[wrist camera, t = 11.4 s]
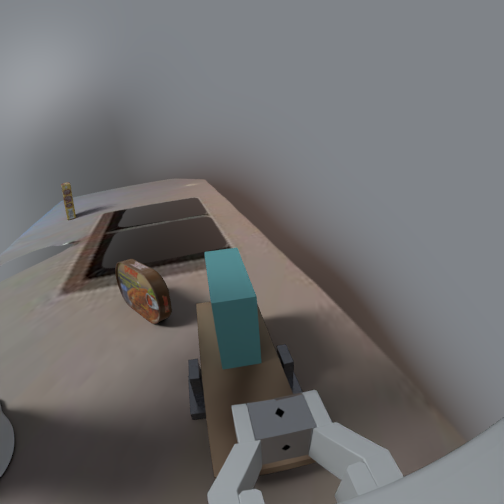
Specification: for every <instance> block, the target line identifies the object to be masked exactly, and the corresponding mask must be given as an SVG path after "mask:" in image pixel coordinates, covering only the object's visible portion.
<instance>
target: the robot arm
mask: <svg viewBox="0 0 504 504" xmlns="http://www.w3.org/2000/svg"><path fill="white" fill-rule="evenodd" d="M232 413H233V420H234V426H235V432H236V437H237V442H238V444H234V446H233V448H232V450H231V452H230V454H229V456H228V458H227V459H226V461H225V463H224V465H223V467H222V469H221V470H220V472H219V474H218V476H217V478H216V479H215V481H214V483H213V485H212V487H211V488H210V490H209V492H208V494H207V496H208V503H209V504H264V500H263V496H262V493H261V491H259V490H257V489H253V488H254V486H255V483H256V481H257V478H258V476H259V473H260V471H261V468H262V465H264V464H268V463H273V462H277V461H282V460H286V459H291V458H296V457H300V456H305V455H309V456H310V457H311V458H312V459H313V460H315V461H316V462H317V463H319V464H320V465H321V466H323V467H324V468H325V469H327V470H328V471H329V472H331V473H332V474H333V475H335V476H336V477H338V478H339V479H340V480H342V481H341V483H340V485H339V487H338V489H337V491H336V493H335V498H336V500H337V503H336V504H504V417H503V418H502V419H500V420H499V421H498V422H496V423H495V424H493V425H492V426H491V427H489V428H488V429H487V430H485V431H484V432H482V433H481V434H479V435H478V436H476V437H475V438H473V439H472V440H470V441H468V442H467V443H465V444H464V445H462V446H460V447H459V448H457V449H456V450H454V451H452V452H450V453H449V454H447V455H445V456H444V457H442V458H440V459H438V460H436V461H435V462H433V463H431V464H429V465H427V466H425V467H423V468H421V469H419V470H417V471H415V472H413V473H411V474H409V475H407V476H405V477H403V475H402V473H401V471H400V470H399V468H398V466H397V464H396V463H395V461H394V459H393V457H392V456H391V454H390V452H389V451H388V450H387V449H385V448H383V447H381V446H379V445H377V444H376V443H374V442H372V441H370V440H368V439H366V438H364V437H363V436H361V435H359V434H357V433H355V432H353V431H352V430H350V429H348V428H346V427H345V426H343V425H341V424H339V423H338V422H335V423H333V422H332V420H331V418H330V416H329V414H328V412H327V410H326V408H325V406H324V404H323V402H322V400H321V398H320V396H319V394H318V392H317V391H316V390H311V391H307V392H303V393H297V394H293V395H288V396H284V397H279V398H274V399H272V400H265V401H259V402H252V403H245V404H238V405H232ZM13 449H14V431H13V427H12V425H11V423H10V421H9V419H8V418H7V417H6V416H5V415H4V413H3V412H2V409H1V403H0V477H1V476H2V474H3V473H4V471H5V470H6V468H7V466H8V464H9V462H10V460H11V457H12V454H13Z"/></svg>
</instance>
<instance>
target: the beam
mask: <svg viewBox="0 0 504 504" xmlns="http://www.w3.org/2000/svg"><path fill="white" fill-rule="evenodd" d="M196 307H197V322H198V336H199V348H200V360H201V369H200V375H201V379H202V382H203V392H204V401H205V410H206V419H207V427H208V436H209V443H210V451H211V458H212V466H213V473H214V478H215V479H216V478H217V476H218V474H219V472H220V470H221V469H222V467H223V465H224V463H225V461H226V459H227V458H228V456H229V454H230V452H231V450H232V448H233V446H234V444H238V442H237V437H236V432H235V426H234V420H233V413H232V405H238V404H245V403H252V402H259V401H265V400H272V399H274V398H279V397H284V396H288V395H293V393H292V390H291V388H290V385H289V383H288V380H287V378H286V375H285V373H284V370H283V368H282V365H281V361H280V358H279V356H278V355H277V353H276V350H275V348H274V345H273V343H272V340H271V338H270V335H269V332H268V330H267V327H266V325H265V322H264V320H263V317H262V315H261V312H260V310H259V307H258V304H257V310H258V323H259V336H260V349H261V362H262V363H259V364H253V365H248V366H242V367H236V368H229V369H222V364H221V358H220V352H219V347H218V341H217V335H216V330H215V324H214V318H213V312H212V306H211V302H205V303H198V304H196ZM315 462H316V461H315V460H313V459H312V458H311V457H310V456H309V455H305V456H300V457H296V458H291V459H286V460H282V461H277V462H273V463H268V464H264V465H262V468H261V471H260V473H259V475H264V474H269V473H274V472H279V471H283V470H287V469H292V468H296V467H300V466H304V465H307V464H311V463H315Z"/></svg>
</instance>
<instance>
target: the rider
mask: <svg viewBox="0 0 504 504" xmlns="http://www.w3.org/2000/svg"><path fill="white" fill-rule="evenodd" d="M205 260H206V268H207V276H208V284H209V291H210V299H211V306H212V312H213V318H214V324H215V330H216V335H217V341H218V347H219V352H220V358H221V364H222V369H229V368H236V367H242V366H248V365H253V364H259V363H262V362H261V349H260V336H259V323H258V310H257V298H256V294H255V292H254V289H253V287H252V284H251V282H250V279H249V277H248V274H247V271H246V269H245V266H244V264H243V261H242V259H241V256H240V254H239V251H238V249H237V248H232V249H224V250H217V251H210V252H205Z"/></svg>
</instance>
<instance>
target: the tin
mask: <svg viewBox="0 0 504 504" xmlns="http://www.w3.org/2000/svg"><path fill="white" fill-rule="evenodd" d="M116 279H117V283H118V286H119V289H120V292H121V294H122V296H123V298H124V300H125V301H126V303H127V304H128V305H129V306H130V307H131V308H132V309H134V310H135V311H136V312H137V313H139V314H140V315H141V316H143V317H144V318H145V319H147V320H148V321H149V322H151V323H153V324H156V323H158V322H159V321H162V320H164V319H166V318H168V317H169V316H170V314H171V312H172V309H171V301H170V296H169V290H168V288H167V285H166V283H165V281H164V280H163V278H162V277H161V276H160V274H159V273H158V272H157V271H155V270H153V269H151V268H149V267H148V266H146V265H144V264H142V263H139V262H138V261H135V260H134V259H128V260H125V261H122V262H118V263H117V265H116Z"/></svg>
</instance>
